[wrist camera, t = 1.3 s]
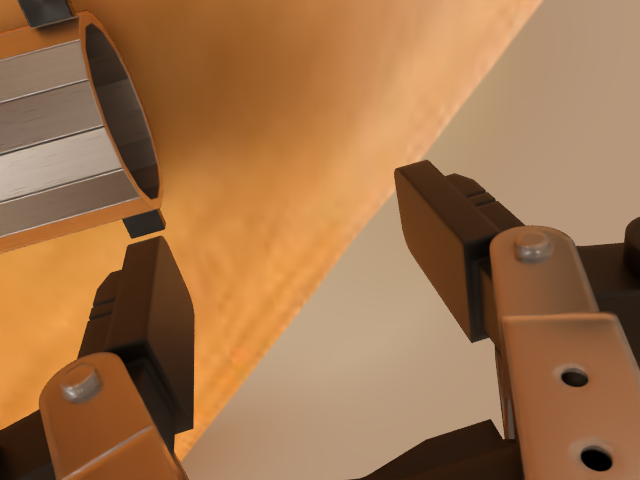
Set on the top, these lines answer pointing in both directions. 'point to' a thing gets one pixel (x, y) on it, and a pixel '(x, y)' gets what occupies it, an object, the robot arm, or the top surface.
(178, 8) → the top surface
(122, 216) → the pot
